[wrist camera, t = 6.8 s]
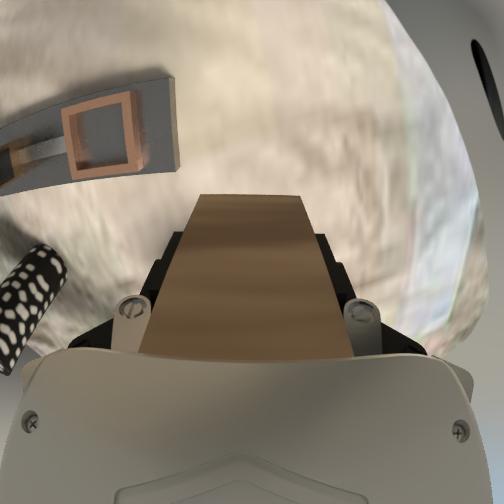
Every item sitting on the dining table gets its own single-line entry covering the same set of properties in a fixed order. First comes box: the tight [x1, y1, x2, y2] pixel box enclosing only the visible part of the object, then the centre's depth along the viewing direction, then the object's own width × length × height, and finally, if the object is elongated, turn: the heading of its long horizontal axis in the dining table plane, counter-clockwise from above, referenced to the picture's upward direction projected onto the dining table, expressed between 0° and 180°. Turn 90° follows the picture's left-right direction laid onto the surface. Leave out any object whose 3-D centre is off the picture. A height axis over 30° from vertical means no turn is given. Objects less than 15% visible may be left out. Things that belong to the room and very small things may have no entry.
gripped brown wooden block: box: [138, 194, 354, 360], centre depth 11 cm, size 5×5×10 cm
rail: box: [0, 78, 180, 196], centre depth 21 cm, size 10×30×12 cm, turn 90°
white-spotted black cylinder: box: [0, 244, 68, 376], centre depth 29 cm, size 8×8×20 cm
